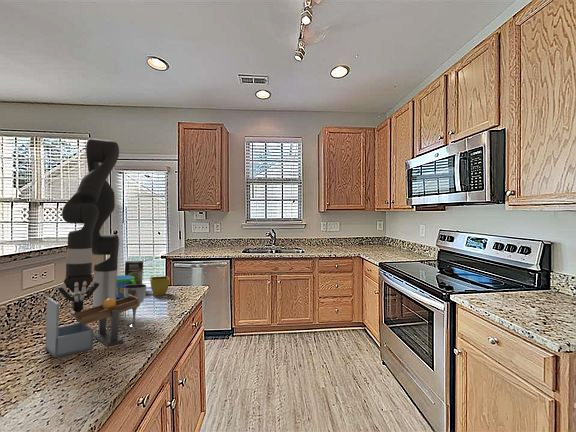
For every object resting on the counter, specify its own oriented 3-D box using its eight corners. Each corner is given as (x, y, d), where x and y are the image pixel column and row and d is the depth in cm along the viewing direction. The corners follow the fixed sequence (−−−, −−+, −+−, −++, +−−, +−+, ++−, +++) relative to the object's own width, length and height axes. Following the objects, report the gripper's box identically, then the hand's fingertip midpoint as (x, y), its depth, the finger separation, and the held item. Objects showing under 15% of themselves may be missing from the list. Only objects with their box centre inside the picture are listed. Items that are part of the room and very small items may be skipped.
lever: (68, 314, 115) (67, 306, 115) (122, 298, 129) (121, 290, 128) (83, 325, 106) (82, 316, 106) (139, 306, 119) (138, 298, 119)
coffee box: (123, 292, 179) (124, 262, 179) (124, 290, 185) (125, 260, 185) (142, 291, 183) (143, 262, 183) (142, 289, 189) (143, 260, 189)
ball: (113, 296, 118) (112, 308, 118) (101, 297, 115) (100, 309, 115) (118, 298, 115) (117, 310, 115) (106, 299, 112) (104, 311, 112)
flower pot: (150, 297, 172) (151, 279, 171) (149, 293, 179) (149, 276, 179) (169, 296, 176) (169, 278, 176) (166, 292, 183) (167, 275, 183)
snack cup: (142, 297, 172) (142, 277, 172) (124, 301, 162) (125, 280, 162) (120, 293, 178) (120, 274, 178) (102, 297, 168) (102, 277, 168)
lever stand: (92, 336, 117) (93, 304, 117) (107, 332, 121) (108, 302, 121) (107, 346, 109) (108, 312, 109) (123, 342, 112) (124, 309, 112)
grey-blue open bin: (45, 348, 106) (47, 297, 106) (81, 340, 113) (83, 292, 113) (55, 358, 99) (56, 304, 99) (92, 348, 107) (94, 298, 107)
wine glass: (136, 328, 126) (137, 288, 126) (117, 326, 127) (119, 287, 127) (149, 322, 134) (150, 284, 134) (131, 320, 135) (132, 283, 135)
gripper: (96, 258, 122) (94, 306, 122) (53, 261, 112) (51, 313, 112) (104, 261, 117) (102, 310, 117) (60, 264, 107) (58, 318, 107)
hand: (77, 311), depth 115 cm, fingers closed
